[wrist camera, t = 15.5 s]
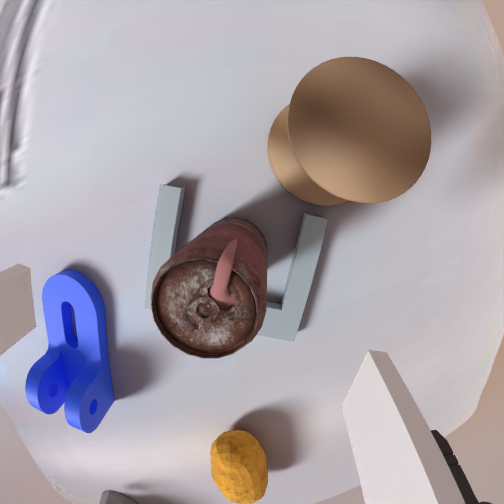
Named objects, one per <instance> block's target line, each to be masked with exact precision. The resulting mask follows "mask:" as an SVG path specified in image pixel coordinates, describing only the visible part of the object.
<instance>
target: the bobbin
mask: <svg viewBox="0 0 504 504" xmlns="http://www.w3.org/2000/svg"><path fill="white" fill-rule="evenodd" d="M430 149H431V130H430V123H429V120H428V116H427V113H426V110H425V108H424V106H423V104H422V102H421V100H420V98H419V96H418V95H417V93H416V92H415V91H414V89H413V88H412V87H411V86H410V85H409V83H408V82H407V81H406V80H405V79H404V78H402V77H401V76H400V75H399V74H398V73H396V72H395V71H393V70H392V69H390V68H389V67H387V66H385V65H383V64H381V63H378V62H376V61H373V60H369V59H366V58H359V57H341V58H336V59H332V60H329V61H326V62H324V63H321V64H320V65H318V66H316V67H315V68H313V69H312V70H311V71H310V72H308V73H307V74H306V75H305V76H304V77H303V79H302V80H301V81H300V83H299V84H298V86H297V87H296V89H295V91H294V94H293V96H292V99H291V102H290V104H289V105H288V106H287V107H285V108H284V109H283V110H282V111H281V112H280V114H279V115H278V116H277V118H276V119H275V121H274V123H273V125H272V127H271V130H270V134H269V139H268V156H269V161H270V165H271V168H272V170H273V172H274V174H275V176H276V178H277V179H278V181H279V182H280V183H281V185H282V186H283V187H284V188H285V189H286V190H287V191H289V192H290V193H291V194H292V195H294V196H296V197H297V198H299V199H301V200H303V201H305V202H308V203H311V204H315V205H321V206H333V205H339V204H343V203H346V202H348V201H355V202H360V203H379V202H384V201H388V200H391V199H393V198H396V197H398V196H400V195H401V194H403V193H405V192H406V191H407V190H408V189H410V188H411V187H412V186H413V185H414V184H415V183H416V182H417V180H418V179H419V178H420V176H421V175H422V173H423V171H424V169H425V167H426V164H427V162H428V159H429V154H430Z"/></svg>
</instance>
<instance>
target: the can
mask: <svg viewBox="0 0 504 504" xmlns="http://www.w3.org/2000/svg"><path fill="white" fill-rule="evenodd" d="M266 305H267V244H266V241H265V239H264V236H263V234H262V233H261V232H260V230H259V229H258V228H257V227H256V226H255V225H254V224H252V223H250V222H249V221H247V220H244V219H240V218H236V217H235V218H224V219H222V220H220V221H217V222H215V223H214V224H212V225H211V226H210V227H209V228H207V229H206V230H205V231H203V232H202V233H201V234H199V235H198V236H197V237H196V238H194V239H193V240H192V241H190V242H189V243H188V244H187V245H185V246H184V247H183V248H181V249H180V250H179V251H178V252H176V253H175V254H174V255H173V256H172V257H171V258H169V259H168V260H167V261H166V262H165V263H164V264H163V265H162V266H161V267H160V269H159V271H158V273H157V275H156V277H155V278H154V280H153V285H152V293H151V308H152V313H153V317H154V321H155V323H156V325H157V327H158V328H159V330H160V332H161V334H162V335H163V336H164V337H165V338H166V339H167V340H168V341H169V342H170V343H171V344H172V345H173V346H174V347H176V348H178V349H179V350H181V351H183V352H184V353H186V354H189V355H192V356H196V357H200V358H221V357H225V356H228V355H231V354H234V353H235V352H237V351H238V350H240V349H241V348H243V347H244V346H246V345H247V344H248V343H249V342H251V341H252V340H253V339H254V337H255V336H256V335H257V333H258V332H259V331H260V329H261V328H262V325H263V321H264V318H265V314H266Z"/></svg>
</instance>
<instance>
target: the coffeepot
mask: <svg viewBox="0 0 504 504" xmlns="http://www.w3.org/2000/svg"><path fill="white" fill-rule="evenodd" d="M100 504H137V503H136V502H135V501H133V500H132V499H130V498H128V497H126V496H124V495H122V494H120V493H117V492H113V491H105V492H102V496H101V500H100Z"/></svg>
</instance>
